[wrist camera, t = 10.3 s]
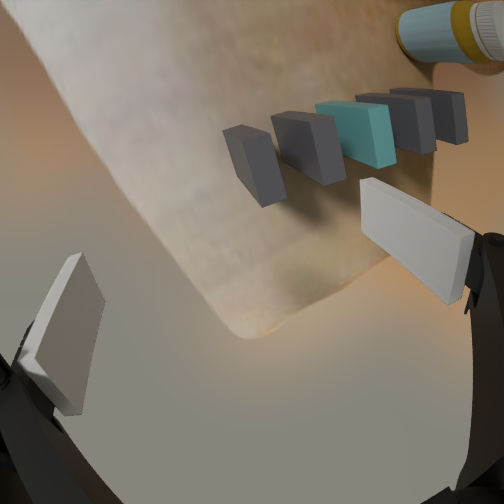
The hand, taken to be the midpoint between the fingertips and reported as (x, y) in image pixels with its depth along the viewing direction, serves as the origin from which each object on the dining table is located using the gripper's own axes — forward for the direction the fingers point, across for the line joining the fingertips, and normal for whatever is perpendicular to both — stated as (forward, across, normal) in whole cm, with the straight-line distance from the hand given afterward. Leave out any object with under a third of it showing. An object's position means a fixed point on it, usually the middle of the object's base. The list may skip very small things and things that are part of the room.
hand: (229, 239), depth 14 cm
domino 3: (+18, +14, +1) cm, 23 cm away
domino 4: (+18, +19, +2) cm, 27 cm away
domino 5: (+18, +24, +2) cm, 30 cm away
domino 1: (+18, +4, 0) cm, 19 cm away
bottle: (+19, +28, +12) cm, 36 cm away
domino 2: (+18, +9, +1) cm, 21 cm away
